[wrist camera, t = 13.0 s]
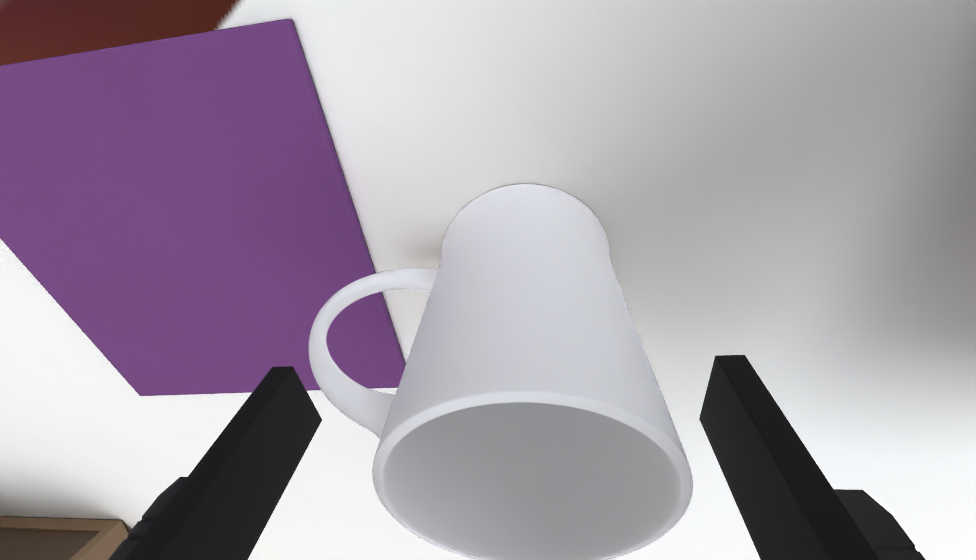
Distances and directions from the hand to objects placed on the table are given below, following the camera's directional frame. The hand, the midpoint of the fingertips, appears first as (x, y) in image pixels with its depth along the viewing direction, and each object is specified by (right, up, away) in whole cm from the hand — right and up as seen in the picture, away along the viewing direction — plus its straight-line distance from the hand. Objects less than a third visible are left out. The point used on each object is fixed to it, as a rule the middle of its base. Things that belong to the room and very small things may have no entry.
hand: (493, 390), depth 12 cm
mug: (0, +5, +7) cm, 9 cm away
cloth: (-16, +5, +9) cm, 19 cm away
